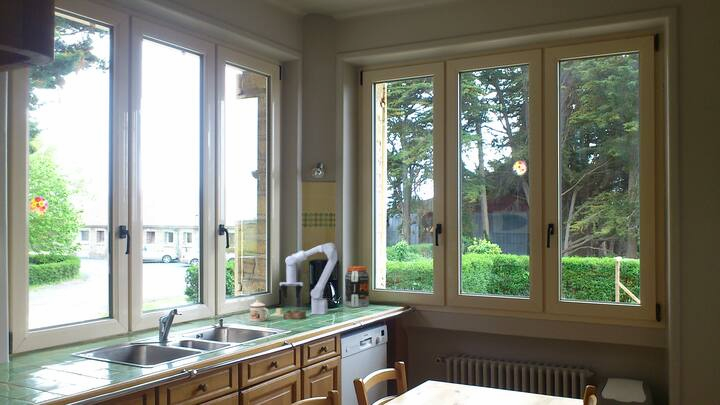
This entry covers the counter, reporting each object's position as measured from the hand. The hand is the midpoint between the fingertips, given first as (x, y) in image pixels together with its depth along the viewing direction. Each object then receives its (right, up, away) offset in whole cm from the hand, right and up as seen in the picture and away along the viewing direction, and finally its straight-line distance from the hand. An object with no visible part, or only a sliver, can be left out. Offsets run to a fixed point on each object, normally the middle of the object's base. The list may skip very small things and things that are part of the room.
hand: (291, 297), depth 402 cm
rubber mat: (-7, -10, -10) cm, 15 cm away
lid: (-7, -9, -10) cm, 15 cm away
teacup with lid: (-15, -10, -27) cm, 33 cm away
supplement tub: (+40, -10, +30) cm, 52 cm away
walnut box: (+4, -9, -19) cm, 21 cm away
